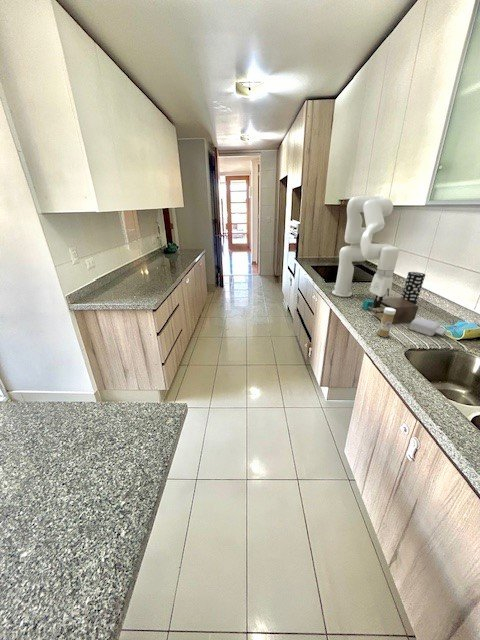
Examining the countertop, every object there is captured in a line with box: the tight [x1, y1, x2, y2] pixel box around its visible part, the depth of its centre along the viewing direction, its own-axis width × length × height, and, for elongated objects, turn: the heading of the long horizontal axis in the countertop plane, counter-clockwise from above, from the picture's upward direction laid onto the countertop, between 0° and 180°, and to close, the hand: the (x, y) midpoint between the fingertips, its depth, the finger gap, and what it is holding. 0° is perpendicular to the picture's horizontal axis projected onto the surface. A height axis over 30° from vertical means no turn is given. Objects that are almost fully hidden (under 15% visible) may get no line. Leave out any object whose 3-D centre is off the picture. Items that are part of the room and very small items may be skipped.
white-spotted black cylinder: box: [400, 271, 426, 305], centre depth 151 cm, size 8×8×20 cm
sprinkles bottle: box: [377, 307, 396, 338], centre depth 119 cm, size 5×5×14 cm
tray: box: [367, 302, 390, 321], centre depth 137 cm, size 18×11×7 cm, turn 99°
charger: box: [409, 316, 451, 337], centre depth 124 cm, size 5×9×15 cm
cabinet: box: [381, 297, 419, 325], centre depth 138 cm, size 15×13×9 cm
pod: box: [361, 298, 374, 311], centre depth 151 cm, size 4×4×5 cm
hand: (376, 307), depth 135 cm, fingers closed
